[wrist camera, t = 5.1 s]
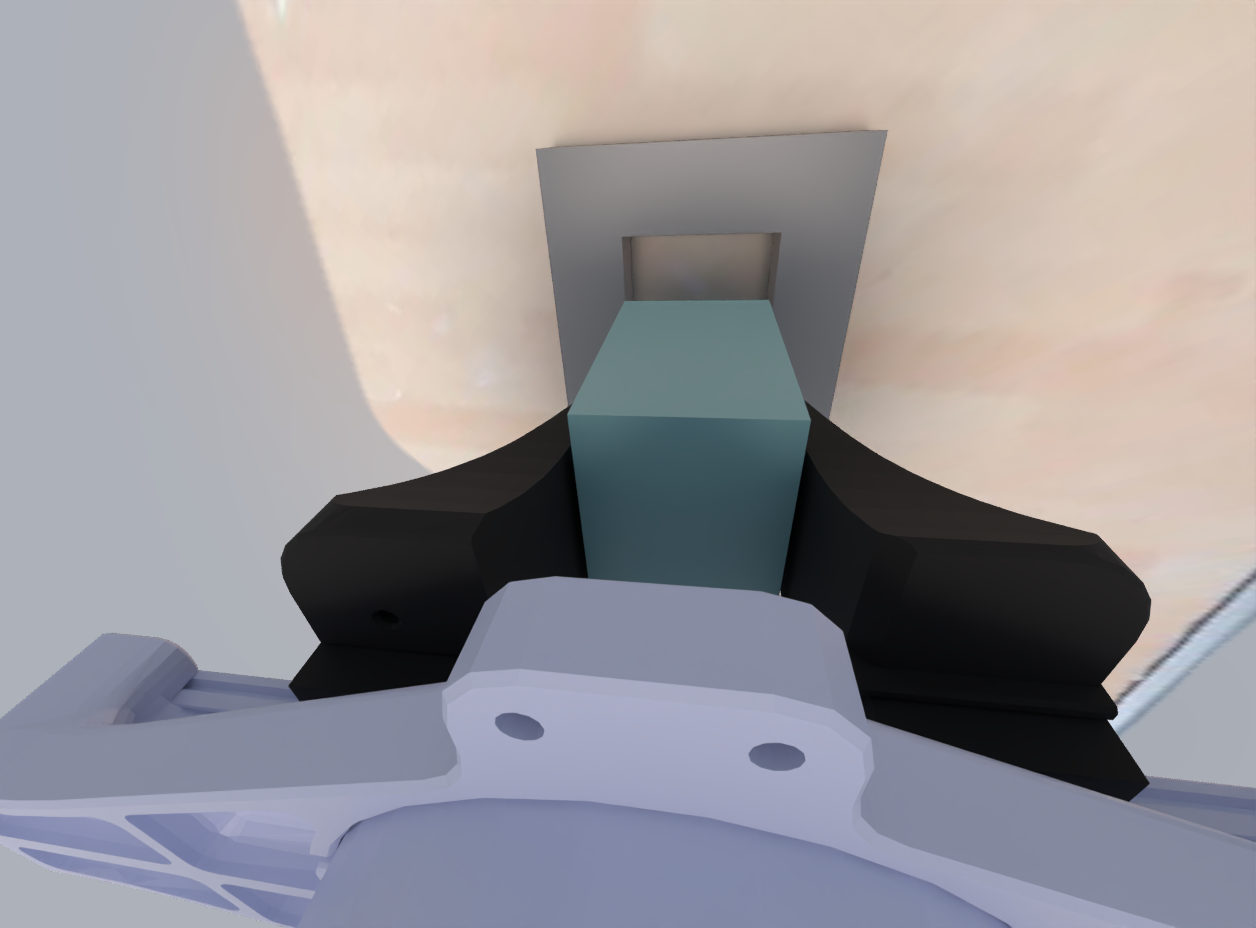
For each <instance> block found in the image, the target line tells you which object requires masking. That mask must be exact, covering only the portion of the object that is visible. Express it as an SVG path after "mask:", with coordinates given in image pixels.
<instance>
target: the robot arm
mask: <svg viewBox="0 0 1256 928" xmlns="http://www.w3.org/2000/svg"><path fill="white" fill-rule="evenodd" d="M804 402H805V405H806V408H807V411H808V413H809V416H810V419H811V423H810V428H809V434H808V439H807V445H806V450H805V456H804V461H803V467H802V472H801V478H800V484H799V489H798V495H797V500H796V506H795V511H794V517H793V522H792V528H791V533H790V539H789V544H788V550H787V555H786V561H785V566H784V572H783V577H782V583H781V589H780V591H781V596H777V595H773V594H770V593H766V592H762V591H752V590H738V589H724V588H710V587H696V586H683V585H669V584H655V583H641V582H627V581H613V580H600V579H588V571H587V564H586V556H585V548H584V540H583V533H582V525H581V517H580V510H579V502H578V494H577V486H576V479H575V471H574V463H573V455H572V448H571V440H570V432H569V425H568V417H567V414H568V412H569V410H570V408H571V406H572V404H573V403H572V404H571V405H570V406H568V407H567V408H565V409H564V410H563V411H561V412H560V413H558V414H557V415H555V416H554V417H553V418H551V419H550V420H548V421H547V422H545V423H543V424H542V425H540V426H538V427H537V428H535V429H534V430H532V431H530V432H529V433H527V434H525V435H524V436H522V437H520V438H519V439H517V440H515V441H513V442H511V443H509V444H507V445H506V446H503V447H501V448H499V449H497V450H495V451H493V452H491V453H489V454H486V455H484V456H482V457H479V458H476V459H474V460H471V461H468V462H466V463H463V464H460V465H458V466H455V467H452V468H450V469H447V470H444V471H441V472H437V473H434V474H431V475H428V476H424V477H420V478H417V479H413V480H409V481H405V482H401V483H397V484H393V485H389V486H383V487H378V488H373V489H368V490H363V491H358V492H352V493H347V494H341V495H336V496H335V497H334V498H333V499H332V500H331V501H330V502H329V503H328V504H327V505H326V506H325V507H324V508H323V509H322V510H321V511H320V512H319V513H318V514H317V515H316V516H315V517H314V518H313V519H312V520H311V521H310V522H309V523H307V524H306V525H305V526H304V527H303V528H302V529H301V531H300V532H299V533H297V534H296V535H295V536H294V537H293V538H292V540H290V541H289V542H288V543H287V544H286V545H285V548H284V551H283V554H282V556H281V566H282V575H283V578H284V581H285V583H286V585H287V587H288V589H289V592H290V594H291V595H292V597H293V598H294V600H295V601H296V603H297V605H298V606H299V608H300V610H301V611H302V613H303V614H304V616H305V618H306V619H307V621H308V623H309V624H310V626H311V627H312V629H313V631H314V632H315V634H316V635H317V637H318V639H319V640H320V642H321V643H320V645H319V646H318V647H317V649H316V650H315V651H314V652H313V654H312V655H311V656H310V658H309V659H308V660H307V662H306V663H305V664H304V666H303V667H302V668H301V670H300V671H299V672H298V673H297V675H296V676H295V677H294V679H293V680H292V681H291V680H282V679H273V678H264V677H255V676H247V675H237V674H229V673H219V672H210V671H202V670H198V667H197V665H196V663H195V662H194V660H193V659H192V657H191V656H190V655H189V654H188V653H187V652H186V651H185V650H184V649H183V648H181V647H180V646H179V645H177V644H175V643H173V642H171V641H169V640H166V639H162V638H158V637H147V636H138V635H128V634H117V633H107V634H102V635H101V636H100V637H99V638H97V639H96V640H95V641H94V642H93V643H91V644H90V645H89V646H88V647H86V648H85V649H84V650H83V651H82V652H80V654H78V655H77V656H76V657H74V658H73V659H72V660H71V661H70V662H68V663H67V664H66V665H65V666H63V667H62V668H61V669H60V670H59V671H57V672H56V673H55V674H54V675H53V676H51V677H50V678H49V679H48V680H47V681H45V682H44V683H43V684H42V685H41V686H39V687H38V688H37V689H36V690H34V691H33V692H32V693H31V694H30V695H28V696H27V697H26V698H25V699H24V700H22V701H21V702H20V703H19V704H18V705H16V706H15V707H14V708H13V709H12V710H10V711H9V712H8V713H7V714H6V715H4V716H3V717H2V718H1V719H0V844H1V845H3V846H5V847H6V848H8V849H10V850H12V851H14V852H16V853H18V854H20V855H21V856H24V857H25V858H27V859H29V860H31V861H33V862H35V863H36V864H38V865H40V866H42V867H44V868H46V869H48V870H51V871H57V872H61V873H66V874H71V875H76V876H81V877H86V878H91V879H96V880H101V881H105V882H110V883H114V884H119V885H123V886H127V887H131V888H136V889H140V890H144V891H149V892H153V893H157V894H161V895H165V896H169V897H172V898H176V899H180V900H184V901H188V902H192V903H196V904H200V905H203V906H207V907H211V908H214V909H218V910H222V911H226V912H229V913H234V914H237V915H240V916H244V917H248V918H252V919H255V920H259V921H263V922H267V923H270V924H274V925H278V926H281V927H285V928H1256V788H1251V787H1242V786H1232V785H1224V784H1215V783H1206V782H1197V781H1188V780H1180V779H1171V778H1162V777H1153V776H1145V775H1144V774H1143V772H1142V771H1141V769H1140V768H1139V766H1138V765H1137V763H1136V762H1135V760H1134V759H1133V757H1132V756H1131V754H1130V753H1129V752H1128V750H1127V749H1126V747H1125V746H1124V744H1123V743H1122V741H1121V740H1120V738H1119V737H1118V735H1117V734H1116V732H1115V731H1114V729H1113V728H1112V726H1111V725H1110V723H1109V722H1108V720H1113V719H1114V718H1115V717H1116V716H1117V715H1118V710H1117V706H1116V704H1115V703H1114V702H1113V700H1112V699H1111V697H1110V696H1109V694H1108V693H1107V692H1106V690H1105V689H1104V687H1103V686H1102V685H1101V683H1102V682H1103V681H1104V680H1105V679H1106V677H1107V676H1108V675H1109V674H1110V673H1111V671H1112V670H1113V669H1114V668H1115V667H1116V665H1117V664H1118V663H1119V662H1120V661H1121V659H1122V658H1123V657H1124V656H1125V655H1126V653H1127V652H1128V651H1129V650H1130V649H1131V647H1132V646H1133V645H1134V644H1135V643H1136V641H1137V640H1138V638H1139V636H1140V634H1141V633H1142V631H1143V629H1144V628H1145V626H1146V624H1147V622H1148V621H1149V617H1150V607H1151V599H1150V597H1149V594H1148V592H1147V590H1146V588H1145V585H1144V583H1143V582H1142V581H1141V580H1140V579H1139V578H1138V577H1137V576H1136V575H1135V574H1134V573H1133V571H1132V570H1131V569H1130V568H1129V567H1128V566H1127V565H1126V564H1125V563H1124V562H1123V561H1122V560H1121V559H1120V558H1119V557H1118V556H1117V555H1116V554H1115V553H1114V552H1113V551H1112V549H1111V548H1110V547H1109V546H1108V545H1107V544H1106V543H1105V542H1104V541H1103V540H1102V539H1101V538H1100V537H1099V536H1098V535H1097V534H1094V533H1090V532H1086V531H1082V530H1078V529H1074V528H1071V527H1067V526H1063V525H1059V524H1055V523H1052V522H1048V521H1044V520H1040V519H1036V518H1032V517H1029V516H1025V515H1022V514H1018V513H1015V512H1012V511H1009V510H1006V509H1003V508H1000V507H997V506H994V505H991V504H988V503H985V502H981V501H979V500H976V499H973V498H971V497H968V496H965V495H962V494H960V493H957V492H955V491H952V490H950V489H948V488H945V487H943V486H940V485H938V484H936V483H933V482H931V481H929V480H926V479H924V478H922V477H920V476H918V475H916V474H914V473H912V472H909V471H908V470H906V469H904V468H902V467H900V466H898V465H896V464H895V463H893V462H891V461H889V460H887V459H885V458H883V457H882V456H880V455H878V454H877V453H875V452H873V451H872V450H870V449H869V448H867V447H866V446H864V445H863V444H861V443H860V442H858V441H857V440H855V439H854V438H852V437H851V436H850V435H848V434H847V433H845V432H844V431H843V430H841V429H840V428H839V427H837V426H836V425H835V424H833V423H832V422H831V421H830V420H828V419H827V418H826V417H825V416H823V415H822V414H821V413H820V412H819V411H817V410H816V409H815V408H814V407H812V406H811V405H810V404H809V403H808V402H806V401H805V400H804Z"/></svg>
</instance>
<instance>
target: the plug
mask: <svg viewBox="0 0 1256 928" xmlns="http://www.w3.org/2000/svg"><path fill="white" fill-rule="evenodd" d="M567 417H568V425H569V432H570V440H571V448H572V455H573V463H574V471H575V479H576V486H577V494H578V502H579V510H580V517H581V525H582V533H583V540H584V548H585V556H586V564H587V571H588V579H600V580H613V581H627V582H641V583H655V584H669V585H683V586H696V587H710V588H724V589H738V590H752V591H762V592H766V593H770V594H773V595H777V596H779V594H780V589H781V583H782V577H783V572H784V566H785V561H786V555H787V550H788V544H789V539H790V533H791V528H792V522H793V517H794V511H795V506H796V500H797V495H798V489H799V484H800V478H801V472H802V467H803V461H804V456H805V450H806V445H807V439H808V434H809V428H810V423H811V419H810V416H809V413H808V411H807V408H806V405H805V402H804V399H803V396H802V393H801V390H800V388H799V385H798V382H797V379H796V376H795V373H794V370H793V367H792V365H791V362H790V359H789V356H788V353H787V350H786V347H785V344H784V342H783V339H782V336H781V333H780V330H779V327H778V324H777V321H776V319H775V316H774V313H773V310H772V307H771V304H770V301H769V300H690V301H624V303H623V305H622V307H621V309H620V311H619V313H618V315H617V317H616V319H615V321H614V323H613V325H612V327H611V329H610V331H609V333H608V335H607V337H606V339H605V341H604V343H603V345H602V347H601V349H600V351H599V353H598V355H597V357H596V359H595V360H594V362H593V364H592V366H591V368H590V370H589V372H588V374H587V376H586V378H585V380H584V382H583V384H582V386H581V388H580V390H579V392H578V394H577V396H576V398H575V400H574V402H573V404H572V406H571V408H570V410H569V412H568V414H567Z"/></svg>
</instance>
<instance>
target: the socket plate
mask: <svg viewBox="0 0 1256 928" xmlns="http://www.w3.org/2000/svg"><path fill="white" fill-rule="evenodd" d="M887 131H888V130H865V131H847V132H828V133H810V134H791V135H772V136H754V137H735V138H716V139H698V140H679V141H660V142H642V143H623V144H605V145H586V146H567V147H551V148H541V149H536V155H537V163H538V171H539V179H540V187H541V194H542V202H543V210H544V218H545V226H546V234H547V242H548V250H549V258H550V266H551V273H552V281H553V289H554V297H555V305H556V313H557V321H558V329H559V337H560V345H561V352H562V360H563V368H564V376H565V384H566V392H567V400H568V406H570V405H571V404H572V403H573V402H574V400H575V398H576V396H577V394H578V392H579V390H580V388H581V386H582V384H583V382H584V380H585V378H586V376H587V374H588V372H589V370H590V368H591V366H592V364H593V362H594V360H595V359H596V357H597V355H598V353H599V351H600V349H601V347H602V345H603V343H604V341H605V339H606V337H607V335H608V333H609V331H610V329H611V327H612V325H613V323H614V321H615V319H616V317H617V315H618V313H619V311H620V309H621V307H622V305H623V303H624V301H633V286H632V261H631V236H668V235H705V234H743V233H774V234H773V244H772V253H771V262H770V272H769V281H768V290H767V299H766V300H769V301H770V304H771V307H772V310H773V313H774V316H775V319H776V321H777V324H778V327H779V330H780V333H781V336H782V339H783V342H784V344H785V347H786V350H787V353H788V356H789V359H790V362H791V365H792V367H793V370H794V373H795V376H796V379H797V382H798V385H799V388H800V390H801V393H802V396H803V399H804V400H805V401H806V402H808V403H809V404H810V405H811V406H812V407H814V408H815V409H816V410H817V411H819V412H820V413H821V414H822V415H823V416H825V417H826V418H827V419H828V420H829V416H830V411H831V406H832V401H833V396H834V391H835V386H836V381H837V376H838V372H839V367H840V362H841V357H842V352H843V347H844V342H845V337H846V332H847V327H848V322H849V318H850V313H851V308H852V303H853V298H854V293H855V288H856V283H857V278H858V273H859V268H860V264H861V259H862V254H863V249H864V244H865V239H866V234H867V229H868V224H869V219H870V214H871V210H872V205H873V200H874V195H875V190H876V185H877V180H878V175H879V170H880V165H881V160H882V156H883V151H884V146H885V141H886V136H887Z"/></svg>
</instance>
